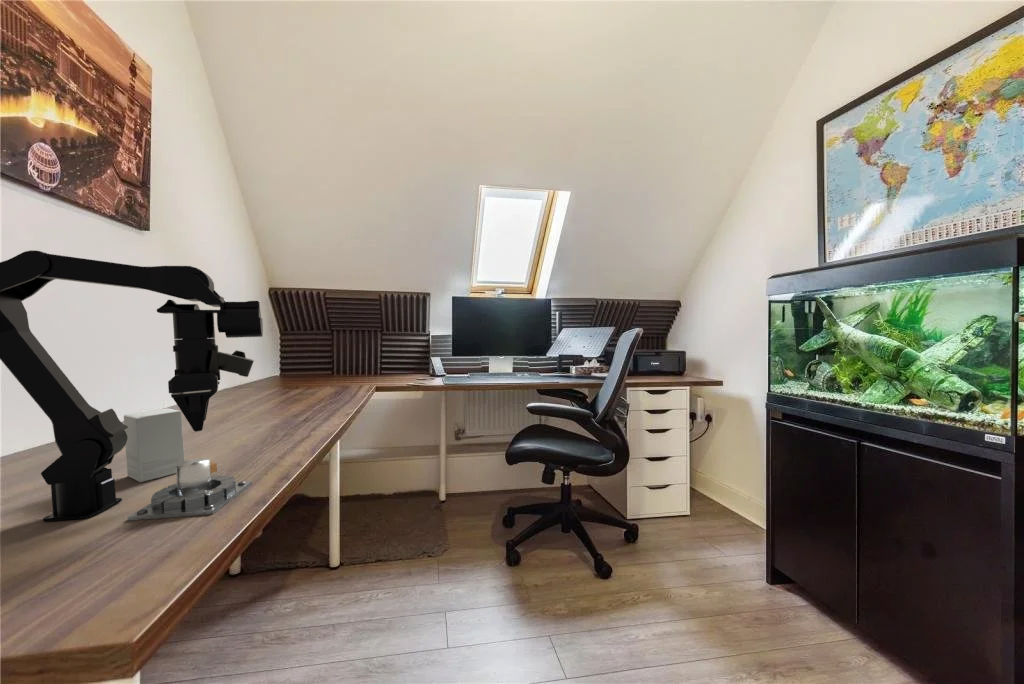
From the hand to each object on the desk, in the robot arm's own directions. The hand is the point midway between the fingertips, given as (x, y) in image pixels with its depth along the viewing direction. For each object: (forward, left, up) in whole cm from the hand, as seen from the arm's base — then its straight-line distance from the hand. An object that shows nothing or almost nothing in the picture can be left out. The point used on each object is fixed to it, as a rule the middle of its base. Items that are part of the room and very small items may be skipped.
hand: (200, 425), depth 72 cm
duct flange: (+1, -5, -12) cm, 13 cm away
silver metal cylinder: (+1, -5, -11) cm, 12 cm away
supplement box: (-16, +11, -12) cm, 23 cm away
